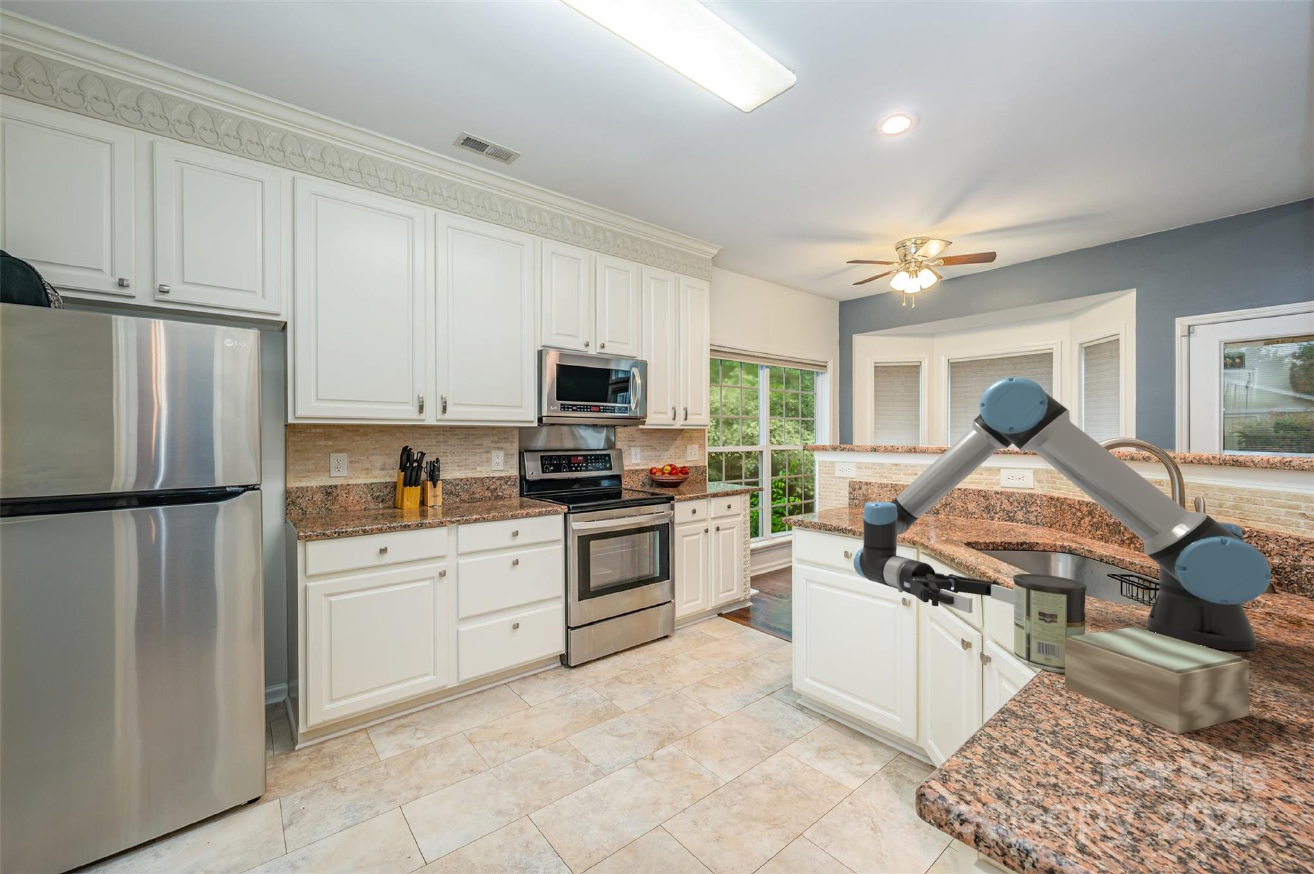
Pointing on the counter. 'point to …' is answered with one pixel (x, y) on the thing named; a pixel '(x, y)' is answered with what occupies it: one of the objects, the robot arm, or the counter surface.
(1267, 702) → the counter surface
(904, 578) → the robot arm
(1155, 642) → the riser
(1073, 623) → the coffee can
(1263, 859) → the counter surface
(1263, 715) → the counter surface
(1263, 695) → the counter surface
